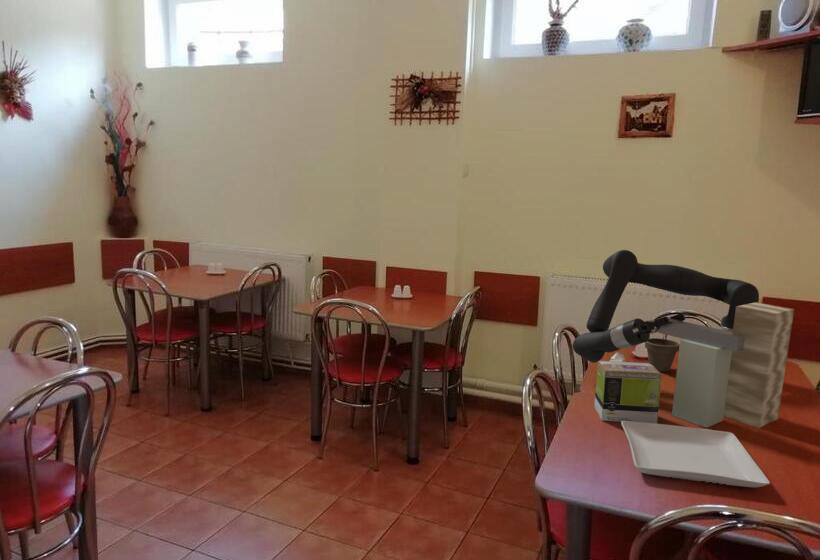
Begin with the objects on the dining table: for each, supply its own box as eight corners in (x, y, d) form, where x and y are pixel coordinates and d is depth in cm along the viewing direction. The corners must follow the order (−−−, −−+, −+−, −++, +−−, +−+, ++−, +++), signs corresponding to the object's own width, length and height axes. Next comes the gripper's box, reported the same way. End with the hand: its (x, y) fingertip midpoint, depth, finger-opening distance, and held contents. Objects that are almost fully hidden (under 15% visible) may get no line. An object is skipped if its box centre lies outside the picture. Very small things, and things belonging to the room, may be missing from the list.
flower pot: (639, 362, 216) (642, 336, 215) (672, 365, 214) (675, 338, 213) (645, 372, 205) (648, 344, 204) (680, 375, 203) (683, 347, 201)
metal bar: (665, 331, 174) (667, 317, 173) (743, 349, 156) (745, 335, 156) (658, 332, 171) (659, 319, 171) (736, 351, 154) (738, 337, 153)
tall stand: (741, 407, 175) (755, 302, 170) (777, 418, 167) (794, 309, 162) (721, 415, 168) (736, 306, 163) (758, 428, 160) (775, 313, 155)
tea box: (646, 411, 169) (651, 362, 167) (657, 425, 160) (663, 373, 157) (593, 407, 171) (597, 358, 168) (600, 421, 161) (605, 369, 158)
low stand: (688, 408, 172) (697, 336, 169) (722, 420, 165) (732, 344, 161) (671, 415, 167) (680, 340, 163) (706, 427, 159) (716, 349, 155)
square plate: (730, 444, 150) (732, 430, 149) (769, 500, 124) (772, 482, 123) (619, 431, 156) (620, 417, 155) (634, 481, 130) (635, 464, 129)
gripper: (611, 325, 178) (657, 308, 165) (638, 320, 186) (684, 303, 174) (620, 349, 176) (667, 333, 163) (647, 342, 184) (693, 327, 172)
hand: (676, 318), depth 169 cm, fingers open, 8 cm apart
